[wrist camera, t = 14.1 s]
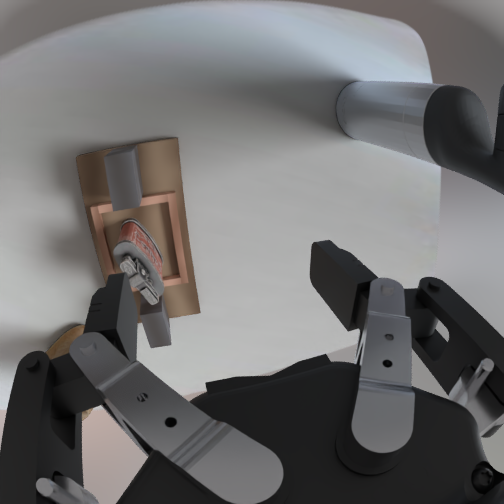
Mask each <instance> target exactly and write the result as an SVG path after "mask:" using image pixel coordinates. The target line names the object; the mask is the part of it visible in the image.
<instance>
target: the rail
mask: <svg viewBox="0 0 504 504" xmlns="http://www.w3.org/2000/svg"><path fill="white" fill-rule="evenodd" d="M76 161H77V167H78V173H79V179H80V184H81V189H82V194H83V199H84V204H85V208H86V213H87V217H88V221H89V226H90V230H91V234H92V237H93V241H94V245H95V249H96V252H97V256H98V259H99V263H100V266H101V270H102V273H103V276H104V279H105V283H106V284H107V280H108V276H109V275H110V274H117V273H123V272H122V271H121V269H120V268H119V266H118V264H117V262H116V260H115V258H114V255H113V251H114V247H115V246H116V244H117V243H118V240H119V236H120V233H121V231H120V229H121V225H122V223H123V222H124V221H125V220H126V219H128V218H135V219H137V220H138V221H139V222H140V223H141V224H142V225H143V226H144V227H145V228H146V229H147V231H148V232H149V233H150V234H151V236H152V237H153V238H154V240H155V242H156V243H157V245H158V247H159V249H160V251H161V254H162V256H163V265H162V281H163V283H164V292H163V294H162V295H161V296H160V297H159V301H158V302H157V303H156V304H154V305H152V304H150V303H149V302H148V301H147V300H146V299H145V297H144V296H143V295H142V294H141V293H140V291H138V290H137V289H136V288H133V287H131V289H132V292H133V296H134V299H135V302H136V307H137V313H138V323H141V322H142V323H143V327H144V330H145V333H146V336H147V339H148V341H149V344H150V347H151V348H155V347H161V346H168V345H171V335H170V324H169V318H174V317H180V316H186V315H192V314H198V313H200V307H199V301H198V295H197V289H196V282H195V276H194V269H193V263H192V256H191V249H190V242H189V234H188V227H187V219H186V211H185V203H184V194H183V185H182V176H181V166H180V156H179V145H178V138H170V139H163V140H156V141H150V142H144V143H138V144H132V145H126V146H121V147H115V148H110V149H105V150H101V151H96V152H91V153H87V154H82V155H79V156H77V157H76Z"/></svg>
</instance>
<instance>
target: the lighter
mask: <svg viewBox="0 0 504 504" xmlns="http://www.w3.org/2000/svg"><path fill="white" fill-rule="evenodd" d="M120 231H121V233H120V236H119V240H118V243H117V244H116V246H115V247H114V251H113V255H114V258H115V260H116V262H117V264H118V266H119V268H120V269H121V271H122V272H126V273H127V275H128V278H129V282H130V285H131V287H133V288H136V289H137V290H138V291H140V293H141V294H142V295H143V296H144V297H145V299H146V300H147V301H148V302H149V303H150V304H152V305H154V304H156V303H157V302H158V301H159V297H160V296H161V295H162V294H163V292H164V283H163V281H162V265H163V256H162V254H161V251H160V249H159V247H158V245H157V243H156V242H155V240H154V238H153V237H152V236H151V234H150V233H149V232H148V231H147V229H146V228H145V227H144V226H143V225H142V224H141V223H140V222H139V221H138V220H137V219H135V218H128V219H126V220H125V221H124V222H123V223H122V225H121V229H120Z"/></svg>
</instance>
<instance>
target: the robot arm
mask: <svg viewBox="0 0 504 504" xmlns="http://www.w3.org/2000/svg"><path fill="white" fill-rule="evenodd" d="M336 112H337V118H338V122H339V124H340V126H341V128H342V129H343V130H344V132H345V133H346V134H347V135H349V136H350V137H352V138H354V139H357V140H360V141H364V142H367V143H371V144H374V145H377V146H381V147H384V148H388V149H391V150H394V151H397V152H400V153H403V154H407V155H410V156H413V157H416V158H419V159H421V160H425V161H427V162H430V163H433V164H436V165H439V166H441V167H444V168H447V169H450V170H452V171H455V172H458V173H460V174H463V175H465V176H467V177H470V178H472V179H475V180H477V181H479V182H481V183H483V184H485V185H487V186H489V187H491V188H492V189H494V190H496V191H498V192H500V193H502V194H503V195H504V85H503V86H502V88H501V91H500V97H499V107H498V117H497V127H496V136H495V143H494V142H493V139H492V135H491V131H490V125H489V120H488V116H487V113H486V110H485V108H484V106H483V104H482V102H481V100H480V99H479V98H478V96H477V95H476V94H475V93H473V92H472V91H471V90H469V89H467V88H464V87H460V86H452V85H442V84H431V83H414V82H385V81H360V82H353V83H351V84H349V85H347V86H346V87H345V88H344V89H343V90H342V91H341V93H340V95H339V97H338V100H337V106H336ZM310 279H311V283H312V285H313V287H314V288H315V289H316V291H317V292H318V293H319V294H320V296H321V297H322V298H323V300H324V301H325V302H326V303H327V305H328V306H329V307H330V309H331V310H332V311H333V312H334V314H335V315H336V316H337V318H338V319H339V320H340V322H341V323H342V324H343V325H344V327H345V328H346V329H347V331H351V330H355V329H358V328H359V330H360V333H359V337H358V343H357V349H356V354H355V359H354V363H349V362H331V361H330V360H329V358H328V356H327V355H326V354H324V355H320V356H317V357H313V358H310V359H306V360H303V361H299V362H297V363H295V364H293V365H291V366H289V367H287V368H285V369H283V370H281V371H279V372H277V373H275V374H273V375H270V376H242V377H232V378H227V379H222V380H217V381H212V382H206V383H205V384H206V388H207V392H205V393H203V394H201V395H199V396H197V397H195V398H194V399H192V400H191V401H187V400H186V399H185V398H183V397H182V396H181V395H180V394H178V393H177V392H176V391H174V390H173V389H172V388H171V387H169V386H168V385H167V384H166V383H164V382H163V381H162V380H161V379H159V378H158V377H157V376H156V375H155V374H153V373H152V372H151V371H150V370H149V369H147V368H146V367H145V366H144V365H143V364H142V363H140V362H139V361H136V354H137V323H138V313H137V307H136V302H135V299H134V296H133V292H132V289H131V285H130V282H129V278H128V275H127V273H126V272H123V273H117V274H110V275H109V276H108V280H107V284H106V287H104V288H99V289H98V290H97V291H96V293H95V294H94V295H93V296H92V300H91V304H90V305H91V306H90V307H89V313H88V315H87V319H86V323H85V327H84V331H83V334H82V335H80V336H79V337H77V338H76V339H75V340H74V341H73V342H72V343H71V345H70V348H69V353H67V354H65V355H62V356H59V357H57V358H54V359H51V360H50V358H49V356H48V355H47V354H46V353H45V352H43V351H34V352H31V353H29V354H27V355H26V356H24V357H23V358H22V359H21V361H20V362H19V364H18V367H17V370H16V374H15V378H14V382H13V386H12V390H11V394H10V399H9V403H8V408H7V413H6V418H5V424H4V430H3V436H2V443H1V450H0V504H99V503H98V500H97V499H96V497H95V496H94V495H93V494H91V493H90V492H89V491H87V490H86V489H84V487H83V486H84V485H83V469H82V412H83V411H86V410H89V409H91V408H94V407H97V406H99V405H101V406H102V407H103V408H104V409H105V410H106V412H107V413H108V414H109V415H110V416H111V417H112V418H113V420H114V421H115V422H116V423H117V424H118V425H119V426H120V427H121V428H122V429H123V431H125V433H126V434H127V435H128V436H129V437H130V438H131V439H132V440H133V441H134V443H135V444H136V445H137V446H138V447H139V448H140V449H141V450H142V451H143V452H144V453H145V454H146V455H147V456H148V458H147V460H146V461H145V463H144V464H143V466H142V467H141V469H140V470H139V472H138V473H137V474H136V476H135V477H134V479H133V480H132V482H131V483H130V485H129V486H128V488H127V489H126V490H125V492H124V493H123V495H122V496H121V497H120V499H119V500H118V502H117V503H116V504H504V474H503V473H500V472H498V471H496V470H495V469H494V468H493V467H492V466H491V465H490V464H489V462H488V460H487V458H486V456H485V453H484V450H483V447H482V443H481V438H480V437H490V436H492V435H493V434H494V433H495V432H496V431H497V430H498V429H499V428H500V427H501V426H502V425H503V424H504V338H503V337H502V336H501V335H500V334H499V333H498V332H497V331H496V330H495V329H494V328H493V327H492V326H491V325H490V324H489V323H488V322H487V321H486V320H485V319H484V318H483V317H482V316H481V315H480V314H479V313H478V312H477V311H476V310H475V309H474V308H473V307H472V306H470V305H469V304H468V303H467V302H466V301H465V300H464V299H463V298H462V297H461V296H460V295H458V294H457V293H456V292H455V291H454V290H453V289H452V288H451V287H450V286H448V285H447V284H446V283H445V282H443V281H442V280H440V279H437V278H434V277H424V278H422V279H421V280H420V282H419V286H418V288H415V289H404V288H403V286H402V285H401V284H400V283H399V282H397V281H395V280H393V279H390V278H378V277H377V276H376V275H375V274H374V273H373V272H371V271H370V270H369V269H368V268H367V267H366V266H365V265H363V263H362V262H360V261H359V260H358V259H357V258H356V257H355V256H354V255H353V254H351V253H350V252H348V251H345V250H343V249H339V248H338V247H337V246H336V245H335V244H334V243H333V242H332V241H330V240H325V241H319V242H314V243H313V244H312V248H311V262H310ZM438 320H440V321H441V322H442V323H443V324H444V326H445V327H446V328H447V329H448V331H449V341H448V342H447V341H446V340H445V339H444V338H443V337H442V336H441V335H440V333H439V332H438V331H437V330H436V329H435V328H436V325H437V323H438ZM412 349H413V350H414V351H415V353H416V354H417V355H418V356H419V358H420V359H421V360H422V362H423V363H424V364H425V365H426V367H427V368H428V369H429V371H430V372H431V373H432V375H433V376H434V377H435V378H436V380H437V381H438V382H439V384H440V385H441V386H442V388H443V389H444V391H445V392H446V393H447V395H448V396H449V399H446V398H443V397H440V396H437V395H435V394H432V393H429V392H426V391H424V390H421V389H418V388H416V387H413V386H411V381H412V380H411V379H412Z"/></svg>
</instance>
